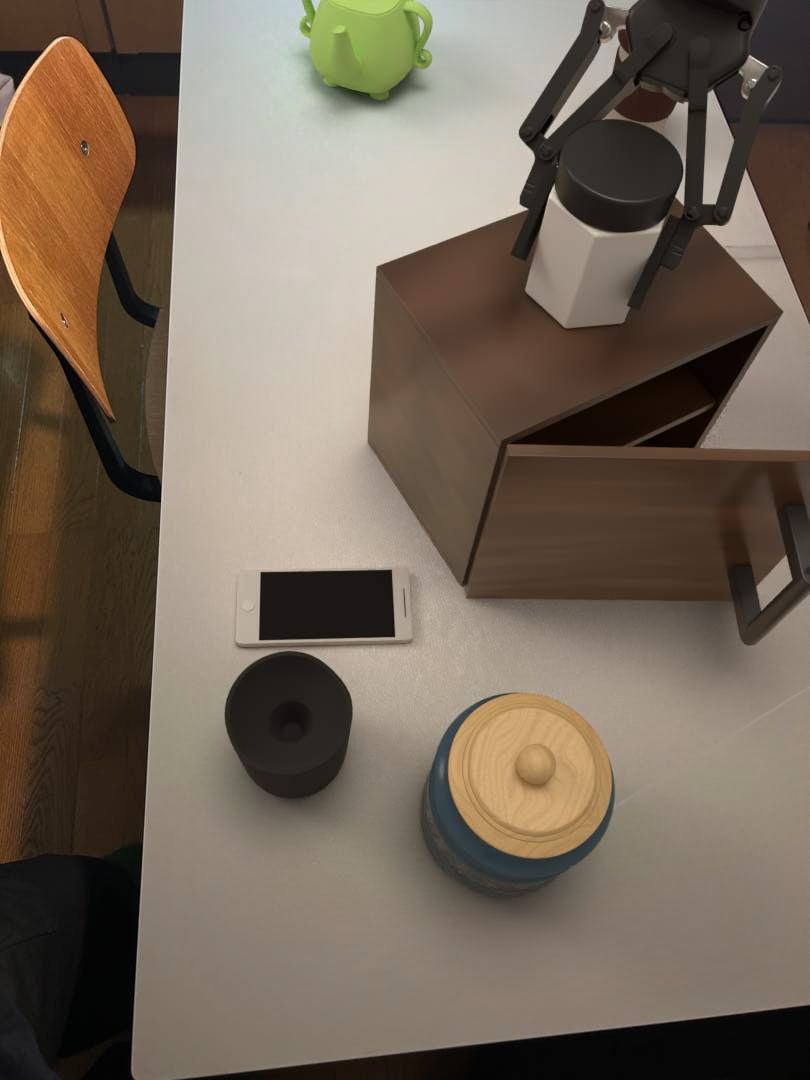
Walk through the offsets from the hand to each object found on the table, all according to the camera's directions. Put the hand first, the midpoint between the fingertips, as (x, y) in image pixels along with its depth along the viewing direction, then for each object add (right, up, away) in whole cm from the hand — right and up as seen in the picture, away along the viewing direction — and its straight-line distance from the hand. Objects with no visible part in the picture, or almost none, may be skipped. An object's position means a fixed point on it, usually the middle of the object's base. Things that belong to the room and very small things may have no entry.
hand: (574, 282), depth 67 cm
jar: (+1, +1, +5) cm, 5 cm away
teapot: (-18, +40, +52) cm, 68 cm away
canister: (-5, -41, +9) cm, 42 cm away
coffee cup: (+16, +33, +50) cm, 62 cm away
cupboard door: (+6, -26, +18) cm, 32 cm away
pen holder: (-21, -36, +11) cm, 43 cm away
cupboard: (0, -10, +26) cm, 28 cm away
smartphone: (-19, -25, +17) cm, 36 cm away
